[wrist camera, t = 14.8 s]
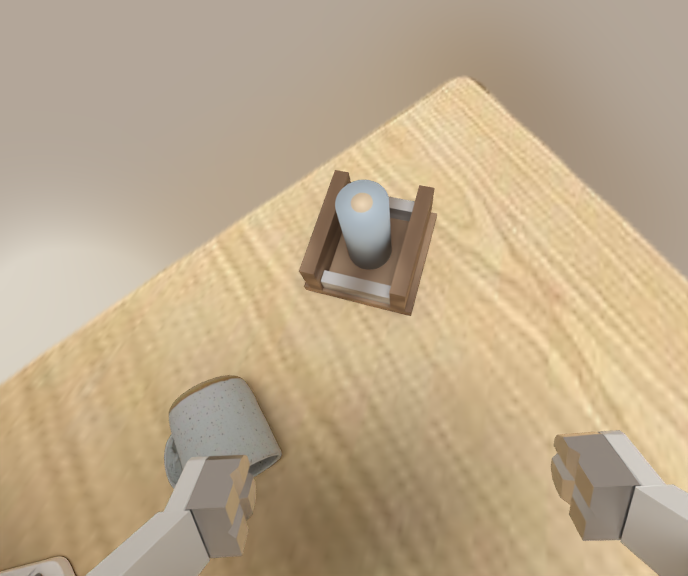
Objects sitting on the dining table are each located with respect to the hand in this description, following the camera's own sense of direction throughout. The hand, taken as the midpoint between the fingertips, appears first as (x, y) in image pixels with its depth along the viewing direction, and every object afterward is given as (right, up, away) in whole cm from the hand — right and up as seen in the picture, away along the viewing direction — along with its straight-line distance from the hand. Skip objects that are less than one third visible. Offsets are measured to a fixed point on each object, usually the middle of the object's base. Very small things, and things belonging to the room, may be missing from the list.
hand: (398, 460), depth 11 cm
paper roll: (+1, +9, +30) cm, 32 cm away
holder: (+1, +8, +31) cm, 32 cm away
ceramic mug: (-12, -10, +27) cm, 31 cm away
